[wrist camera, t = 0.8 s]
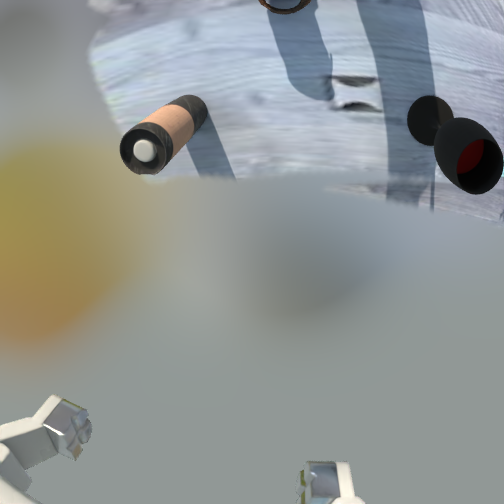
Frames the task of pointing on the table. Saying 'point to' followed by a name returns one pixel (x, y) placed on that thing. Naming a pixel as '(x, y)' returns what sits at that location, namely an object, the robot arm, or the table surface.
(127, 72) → the table surface
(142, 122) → the travel mug
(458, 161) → the wine glass
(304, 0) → the brown mottled arched piece
